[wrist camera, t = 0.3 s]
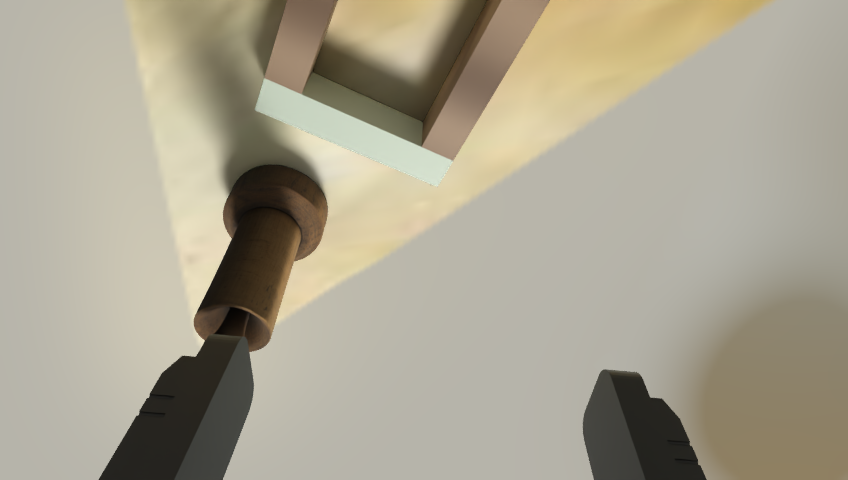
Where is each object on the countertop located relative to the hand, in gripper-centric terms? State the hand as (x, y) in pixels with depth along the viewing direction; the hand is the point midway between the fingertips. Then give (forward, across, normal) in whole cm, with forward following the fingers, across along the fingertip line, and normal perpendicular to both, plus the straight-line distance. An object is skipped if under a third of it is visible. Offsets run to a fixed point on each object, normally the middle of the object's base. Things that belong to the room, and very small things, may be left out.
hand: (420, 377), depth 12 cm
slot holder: (+21, +2, -3) cm, 22 cm away
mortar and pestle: (+23, +10, +9) cm, 27 cm away
